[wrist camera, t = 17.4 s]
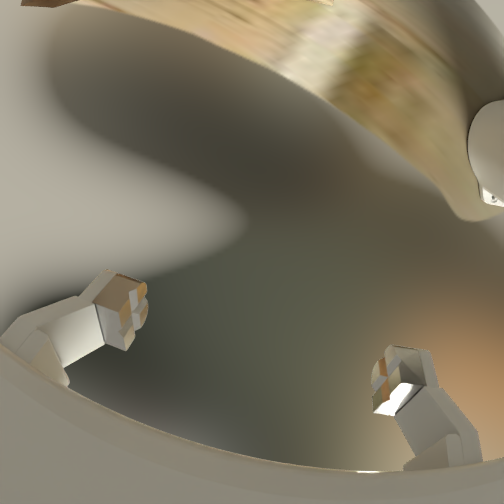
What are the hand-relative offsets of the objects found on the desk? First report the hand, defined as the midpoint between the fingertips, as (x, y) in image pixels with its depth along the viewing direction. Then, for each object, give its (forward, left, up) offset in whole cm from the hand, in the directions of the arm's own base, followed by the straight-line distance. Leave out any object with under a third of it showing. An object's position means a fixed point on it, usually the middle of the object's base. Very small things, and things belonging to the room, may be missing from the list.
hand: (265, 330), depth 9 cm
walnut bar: (+15, -22, -8) cm, 28 cm away
